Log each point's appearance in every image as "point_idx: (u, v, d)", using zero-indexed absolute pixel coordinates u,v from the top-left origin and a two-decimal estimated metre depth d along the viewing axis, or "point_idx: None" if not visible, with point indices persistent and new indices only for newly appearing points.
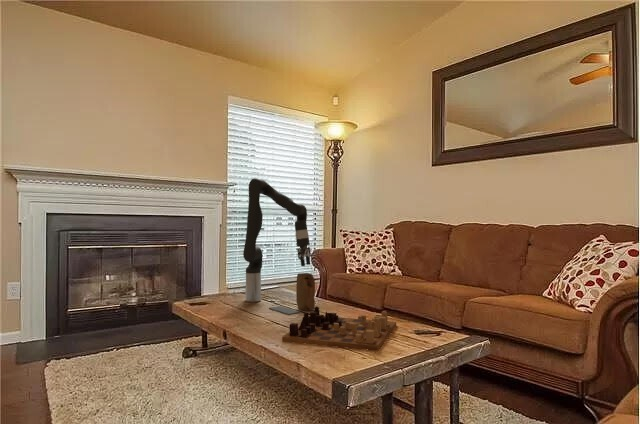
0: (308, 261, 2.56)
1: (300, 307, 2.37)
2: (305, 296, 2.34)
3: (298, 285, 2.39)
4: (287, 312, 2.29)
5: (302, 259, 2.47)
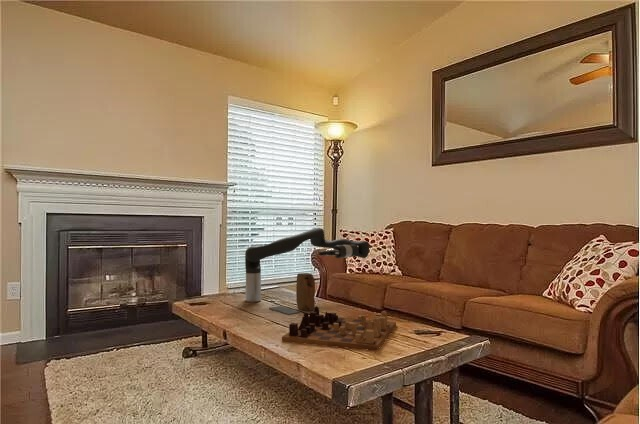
0: None
1: (300, 307, 2.37)
2: (305, 296, 2.34)
3: (298, 285, 2.39)
4: (287, 312, 2.29)
5: (326, 254, 2.46)
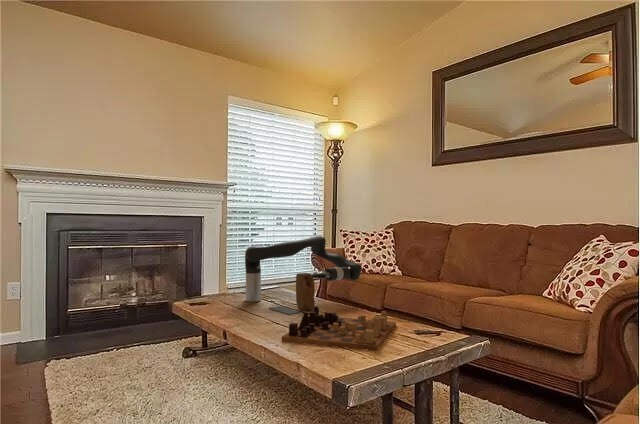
0: None
1: (300, 307, 2.37)
2: (305, 296, 2.33)
3: (297, 285, 2.39)
4: (287, 312, 2.29)
5: (317, 277, 2.42)
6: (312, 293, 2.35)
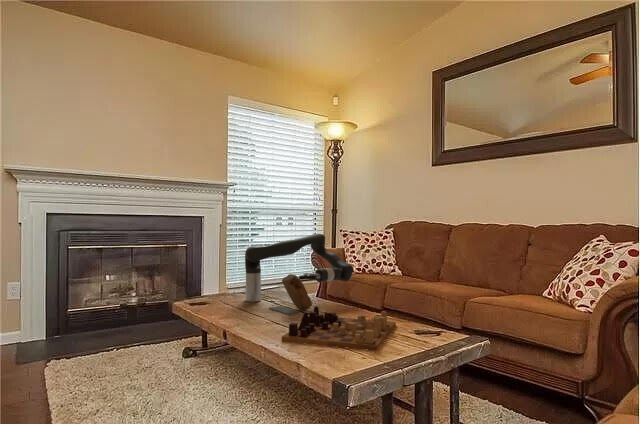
0: None
1: (299, 308, 2.36)
2: (298, 299, 2.31)
3: (287, 290, 2.35)
4: (287, 312, 2.29)
5: (307, 278, 2.38)
6: (304, 292, 2.32)
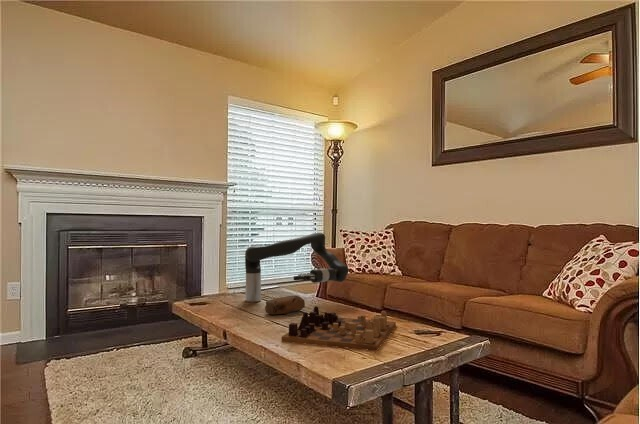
0: None
1: None
2: (292, 311, 2.29)
3: None
4: None
5: (301, 279, 2.35)
6: (291, 304, 2.27)
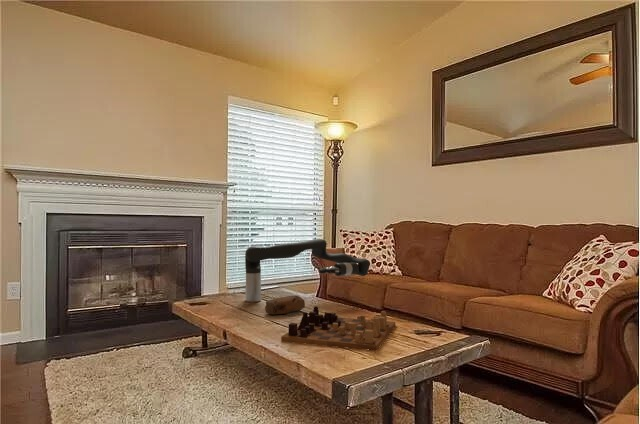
0: None
1: None
2: (292, 311, 2.29)
3: None
4: None
5: (326, 272, 2.46)
6: (291, 304, 2.27)
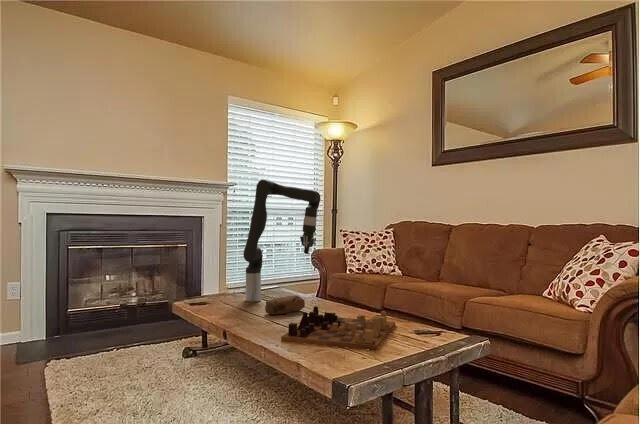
0: None
1: None
2: (292, 311, 2.29)
3: None
4: None
5: (309, 247, 2.52)
6: (291, 304, 2.27)
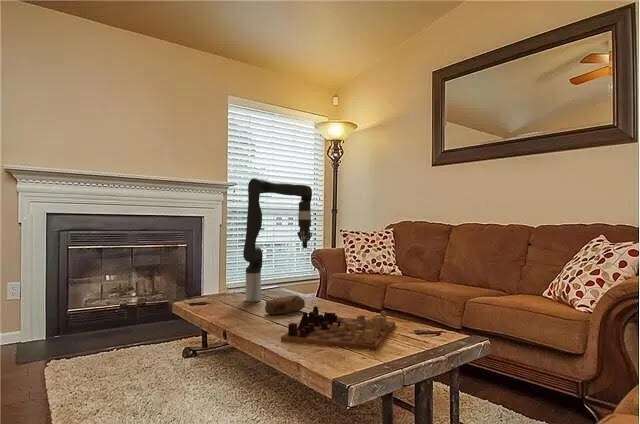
0: None
1: None
2: (292, 311, 2.29)
3: None
4: None
5: (307, 241, 2.53)
6: (291, 304, 2.27)
